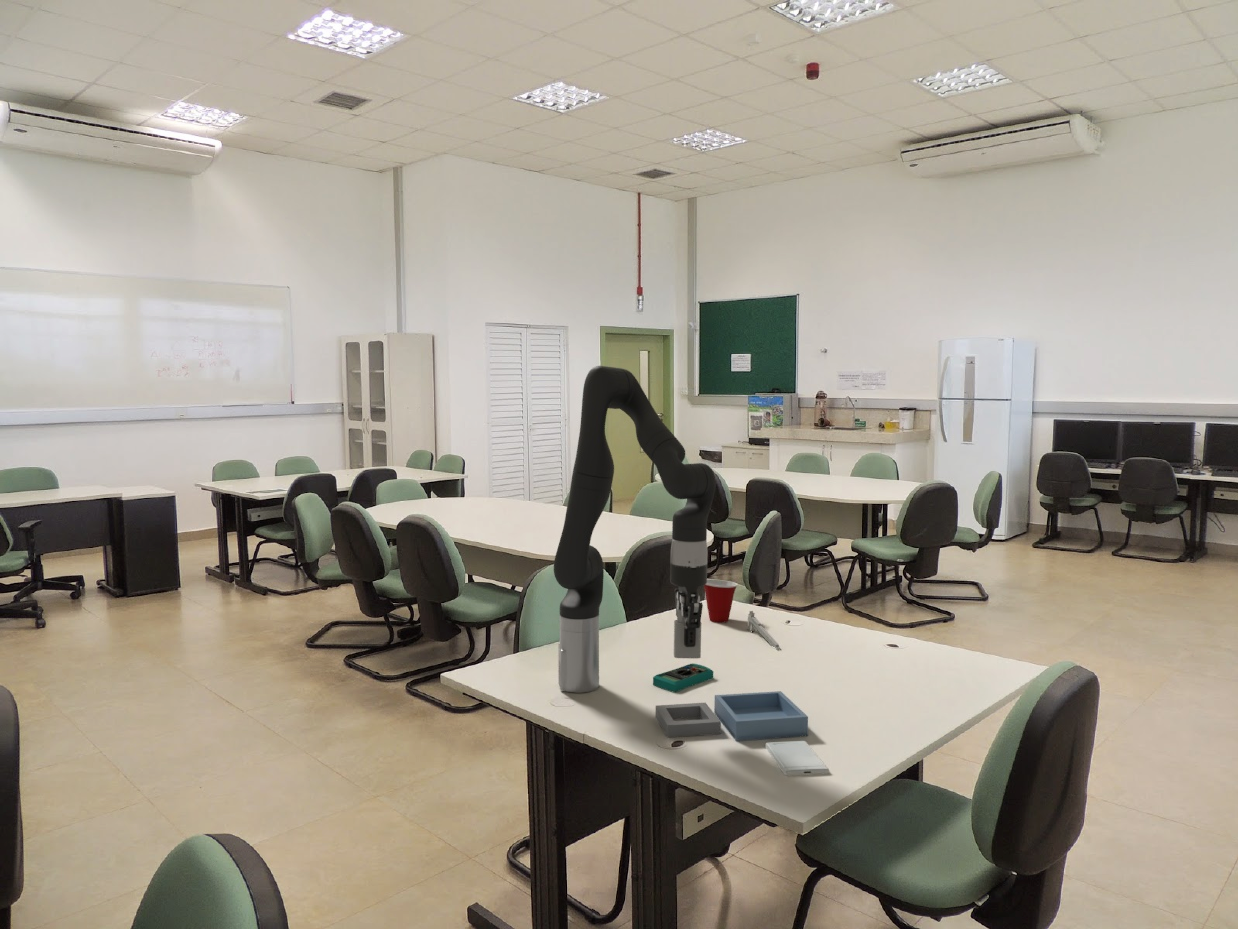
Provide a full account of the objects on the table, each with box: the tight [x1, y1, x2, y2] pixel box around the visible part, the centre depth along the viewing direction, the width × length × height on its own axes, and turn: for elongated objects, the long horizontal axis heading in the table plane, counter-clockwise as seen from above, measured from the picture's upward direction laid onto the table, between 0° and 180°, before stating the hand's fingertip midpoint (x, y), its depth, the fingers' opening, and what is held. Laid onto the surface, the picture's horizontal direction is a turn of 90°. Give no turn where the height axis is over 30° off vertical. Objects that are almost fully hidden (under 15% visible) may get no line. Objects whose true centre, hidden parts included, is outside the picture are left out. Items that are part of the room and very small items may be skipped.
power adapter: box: [673, 609, 702, 659], centre depth 174 cm, size 3×5×12 cm, turn 90°
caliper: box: [746, 610, 781, 651], centre depth 238 cm, size 20×1×6 cm, turn 15°
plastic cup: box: [703, 579, 739, 623], centre depth 258 cm, size 11×11×12 cm
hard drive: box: [765, 740, 830, 776], centre depth 159 cm, size 2×8×12 cm
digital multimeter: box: [652, 663, 714, 693], centre depth 203 cm, size 7×15×3 cm, turn 134°
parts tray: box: [713, 690, 809, 742], centre depth 177 cm, size 15×15×4 cm
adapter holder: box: [655, 702, 722, 738], centre depth 176 cm, size 11×11×2 cm
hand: (687, 643), depth 175 cm, fingers closed on power adapter, 3 cm apart
